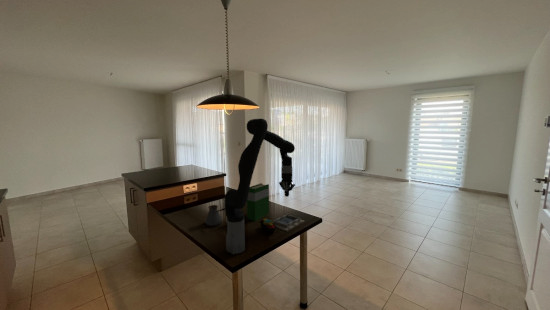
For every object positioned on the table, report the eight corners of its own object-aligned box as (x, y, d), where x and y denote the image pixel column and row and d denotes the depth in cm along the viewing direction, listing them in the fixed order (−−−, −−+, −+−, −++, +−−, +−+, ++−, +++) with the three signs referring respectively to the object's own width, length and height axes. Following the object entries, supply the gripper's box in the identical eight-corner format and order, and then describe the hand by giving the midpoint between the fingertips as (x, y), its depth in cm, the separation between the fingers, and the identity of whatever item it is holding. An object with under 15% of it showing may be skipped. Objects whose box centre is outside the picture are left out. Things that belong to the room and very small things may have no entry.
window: (287, 231, 140) (287, 226, 140) (268, 224, 151) (268, 220, 151) (304, 222, 155) (304, 218, 155) (286, 216, 166) (286, 212, 166)
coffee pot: (201, 225, 150) (200, 204, 149) (214, 219, 160) (214, 200, 158) (222, 233, 138) (222, 210, 137) (235, 226, 148) (235, 205, 146)
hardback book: (261, 212, 175) (261, 183, 173) (269, 214, 171) (268, 184, 169) (247, 219, 160) (246, 187, 158) (255, 221, 156) (254, 189, 154)
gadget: (269, 235, 135) (269, 227, 134) (259, 226, 146) (259, 218, 145) (277, 233, 139) (278, 225, 138) (267, 224, 150) (267, 216, 149)
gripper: (276, 171, 151) (276, 195, 153) (291, 173, 143) (291, 199, 144) (282, 170, 157) (282, 193, 158) (297, 172, 148) (297, 196, 150)
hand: (286, 196), depth 151 cm, fingers closed
